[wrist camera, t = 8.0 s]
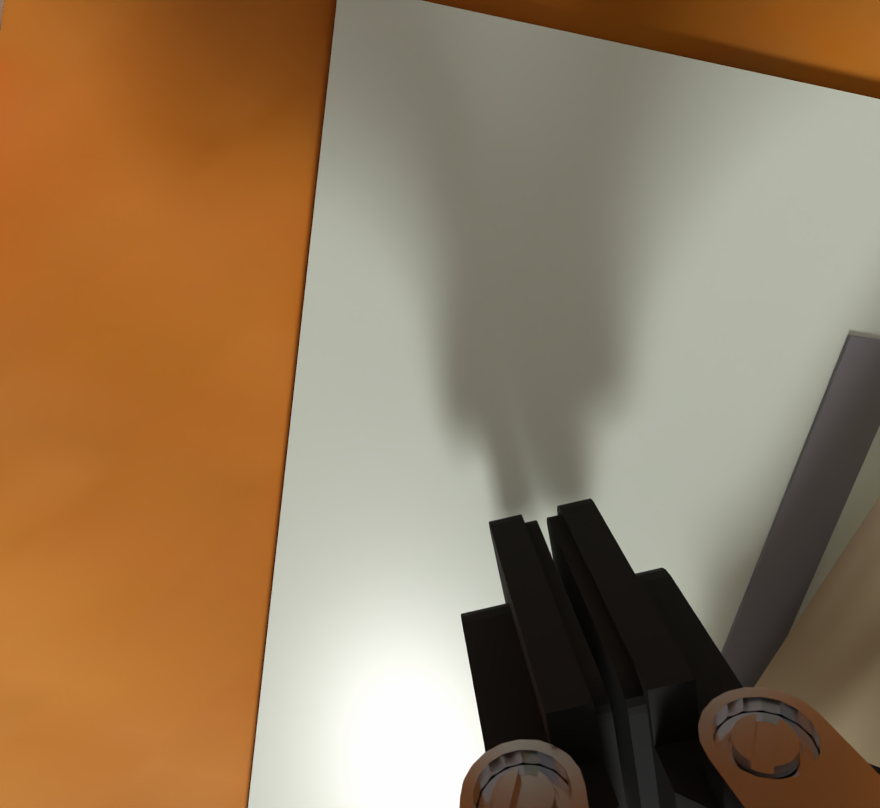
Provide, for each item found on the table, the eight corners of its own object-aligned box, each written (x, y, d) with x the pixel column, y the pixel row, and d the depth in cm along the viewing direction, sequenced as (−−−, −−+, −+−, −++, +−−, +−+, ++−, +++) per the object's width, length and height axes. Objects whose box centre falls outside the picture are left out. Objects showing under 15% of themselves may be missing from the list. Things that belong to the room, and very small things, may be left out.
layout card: (1520, 238, 13) (1542, 242, 13) (1039, 907, 20) (1048, 918, 19) (339, -16, 10) (338, -19, 9) (238, 895, 16) (236, 908, 16)
